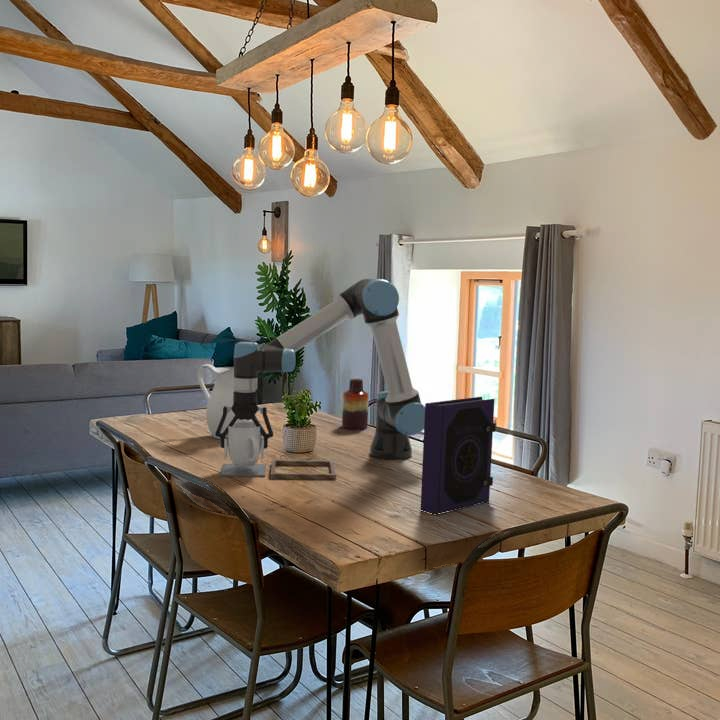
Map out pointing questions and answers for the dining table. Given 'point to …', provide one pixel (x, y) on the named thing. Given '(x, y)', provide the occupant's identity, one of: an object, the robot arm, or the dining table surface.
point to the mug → (244, 443)
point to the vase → (355, 406)
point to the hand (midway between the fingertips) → (244, 458)
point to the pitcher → (218, 397)
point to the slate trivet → (243, 470)
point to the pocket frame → (302, 475)
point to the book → (457, 454)
